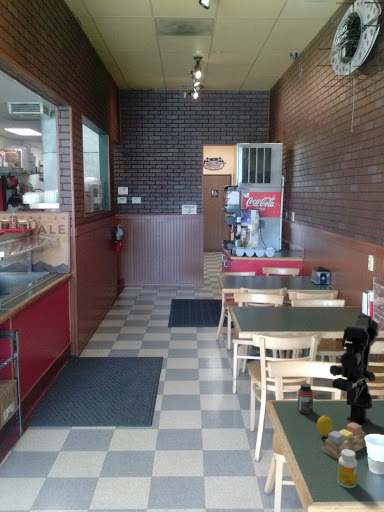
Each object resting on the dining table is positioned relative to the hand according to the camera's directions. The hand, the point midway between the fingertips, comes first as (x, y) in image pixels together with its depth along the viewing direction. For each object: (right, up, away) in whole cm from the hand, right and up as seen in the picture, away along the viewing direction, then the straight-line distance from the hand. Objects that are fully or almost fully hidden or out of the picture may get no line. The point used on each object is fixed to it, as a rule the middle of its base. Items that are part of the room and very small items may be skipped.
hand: (353, 402), depth 170 cm
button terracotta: (-2, -10, -6) cm, 12 cm away
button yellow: (-6, -11, -9) cm, 16 cm away
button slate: (-10, -11, -12) cm, 19 cm away
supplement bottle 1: (-12, -10, +21) cm, 26 cm away
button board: (-6, -13, -9) cm, 17 cm away
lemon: (-10, -12, -1) cm, 16 cm away
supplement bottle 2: (-12, -15, -29) cm, 35 cm away
